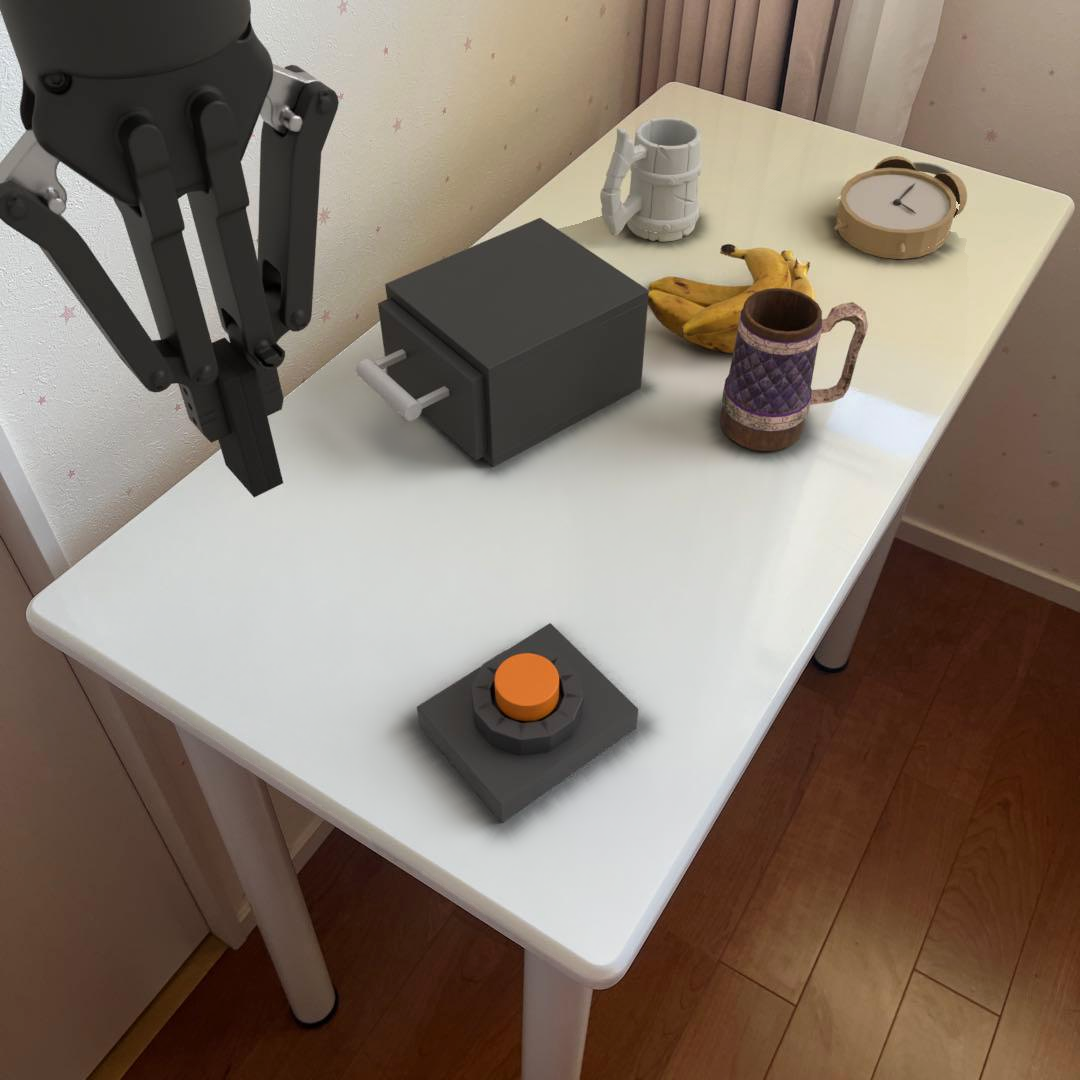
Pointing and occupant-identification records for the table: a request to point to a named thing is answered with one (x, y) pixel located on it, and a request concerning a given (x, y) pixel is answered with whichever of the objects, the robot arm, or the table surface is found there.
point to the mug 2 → (781, 367)
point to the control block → (526, 726)
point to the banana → (723, 297)
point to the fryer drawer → (428, 379)
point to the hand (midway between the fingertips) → (254, 473)
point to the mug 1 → (655, 180)
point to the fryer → (533, 329)
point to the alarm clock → (900, 208)
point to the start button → (526, 687)
